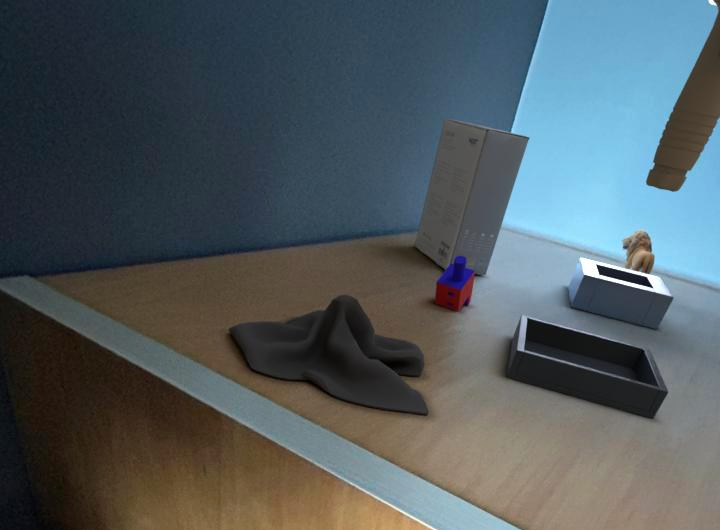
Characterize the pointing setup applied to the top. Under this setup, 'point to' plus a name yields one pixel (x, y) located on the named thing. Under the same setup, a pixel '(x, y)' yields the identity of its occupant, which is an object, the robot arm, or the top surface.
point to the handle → (690, 118)
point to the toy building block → (455, 285)
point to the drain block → (619, 293)
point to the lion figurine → (639, 252)
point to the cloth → (337, 356)
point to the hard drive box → (469, 193)
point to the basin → (586, 366)
